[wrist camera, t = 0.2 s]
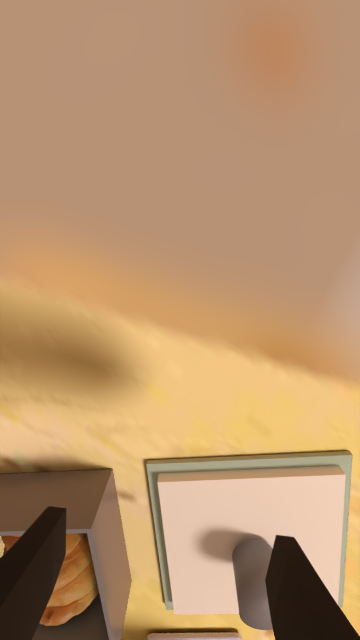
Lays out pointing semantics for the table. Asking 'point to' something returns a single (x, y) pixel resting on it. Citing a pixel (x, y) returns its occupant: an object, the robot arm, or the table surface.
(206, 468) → the mat
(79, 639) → the dish
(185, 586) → the lid
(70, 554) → the pastry
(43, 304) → the table surface
